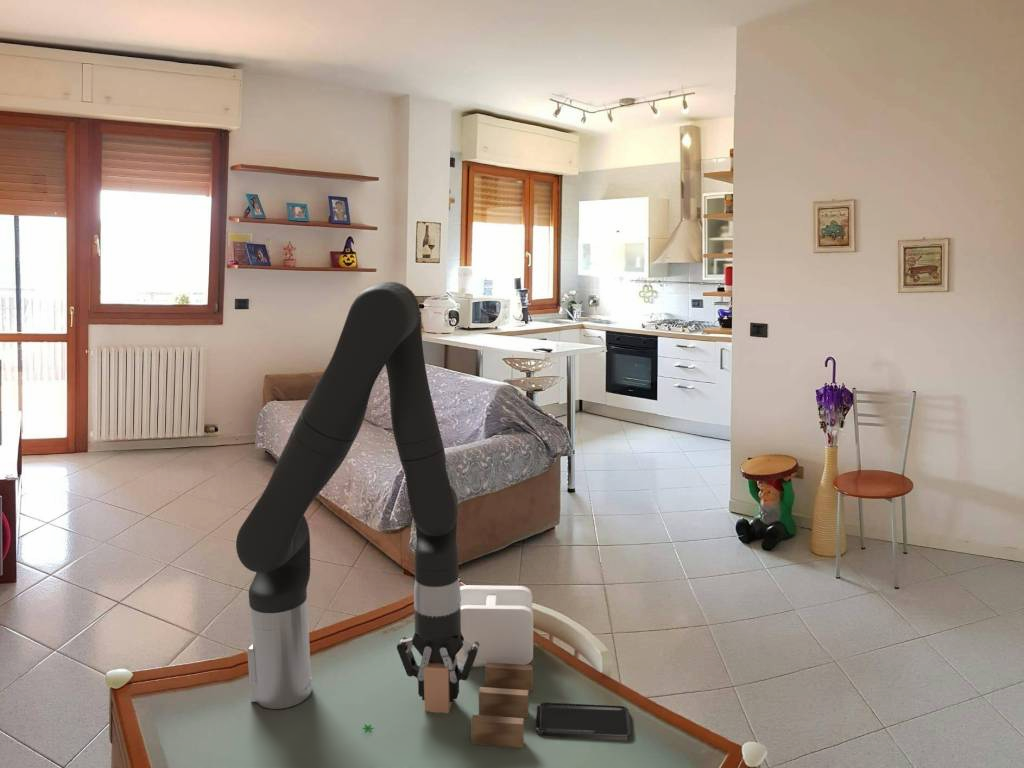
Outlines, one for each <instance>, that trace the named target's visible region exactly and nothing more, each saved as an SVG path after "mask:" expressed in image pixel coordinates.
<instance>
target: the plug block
mask: <svg viewBox="0 0 1024 768" xmlns="http://www.w3.org/2000/svg"><path fill="white" fill-rule="evenodd" d="M449 682H450V678H449V671H448V668H445V665H444V664H442V663H438V662H435V663H428V666H427V667H426V666H424V700H423V702H424V712H425V711H432V712H431V713H439V712H446V713H445V714H450V713H449V712H450V710H451V707H452V703H453V702H449ZM433 711H434V712H433Z"/></svg>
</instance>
